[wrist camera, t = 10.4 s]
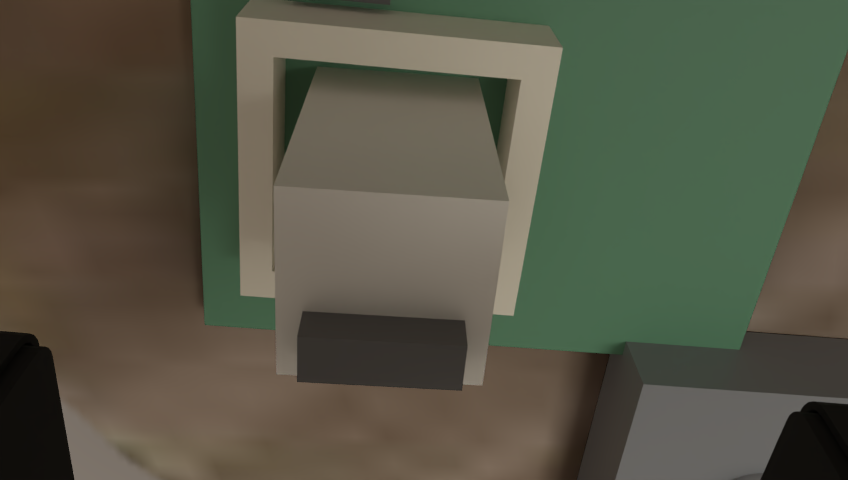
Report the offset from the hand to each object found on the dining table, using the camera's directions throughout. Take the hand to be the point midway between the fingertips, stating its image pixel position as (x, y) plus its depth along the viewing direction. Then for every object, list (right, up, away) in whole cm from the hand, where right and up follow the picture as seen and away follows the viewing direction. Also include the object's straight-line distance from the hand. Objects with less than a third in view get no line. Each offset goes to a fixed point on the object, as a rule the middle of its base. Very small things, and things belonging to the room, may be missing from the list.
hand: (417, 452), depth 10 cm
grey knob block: (+10, -4, +17) cm, 20 cm away
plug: (-1, +5, +10) cm, 11 cm away
